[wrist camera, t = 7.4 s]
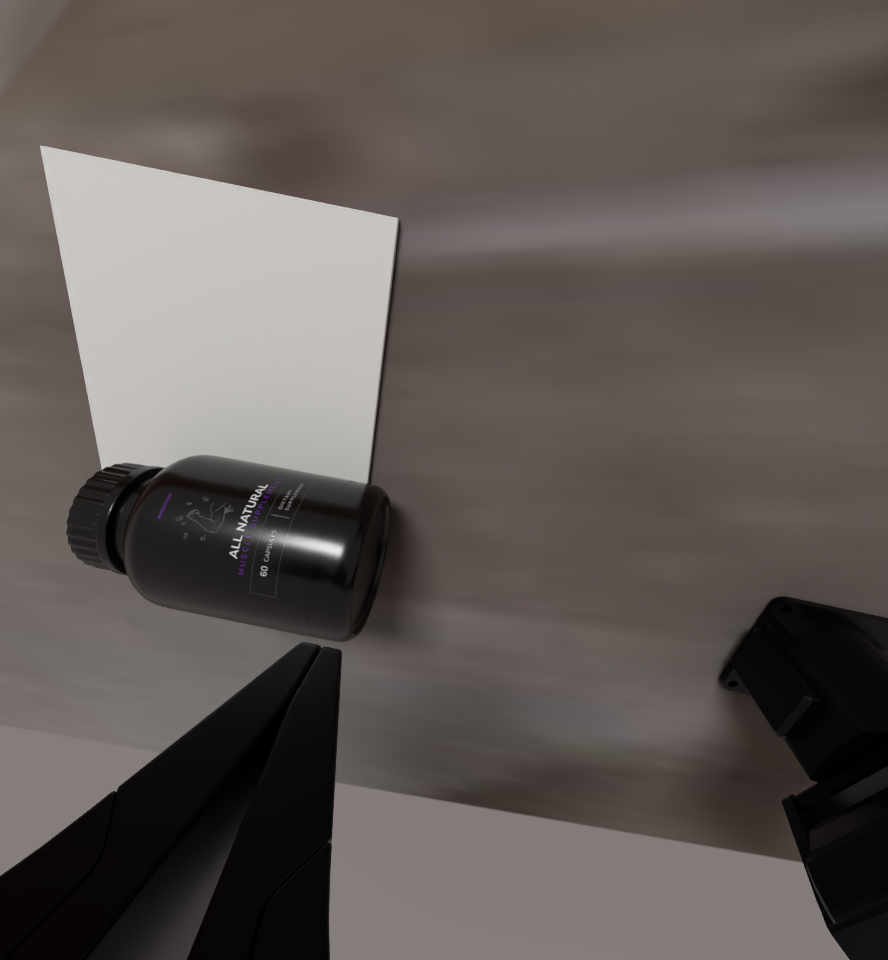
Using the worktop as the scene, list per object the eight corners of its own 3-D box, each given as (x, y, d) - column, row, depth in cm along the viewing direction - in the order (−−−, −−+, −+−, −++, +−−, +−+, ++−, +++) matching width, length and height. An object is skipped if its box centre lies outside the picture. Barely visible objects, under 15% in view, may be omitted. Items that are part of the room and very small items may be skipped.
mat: (399, 219, 16) (398, 218, 16) (353, 610, 24) (351, 614, 24) (47, 147, 16) (39, 145, 16) (124, 560, 25) (119, 563, 24)
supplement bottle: (353, 547, 14) (5, 487, 14) (349, 681, 17) (67, 629, 17) (397, 459, 20) (152, 419, 20) (387, 570, 23) (178, 533, 23)
